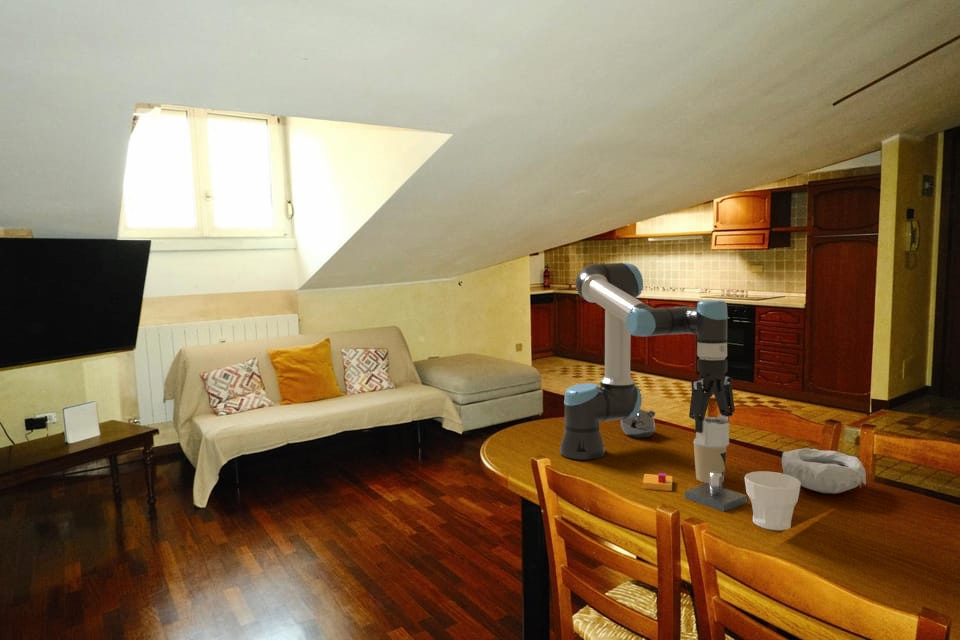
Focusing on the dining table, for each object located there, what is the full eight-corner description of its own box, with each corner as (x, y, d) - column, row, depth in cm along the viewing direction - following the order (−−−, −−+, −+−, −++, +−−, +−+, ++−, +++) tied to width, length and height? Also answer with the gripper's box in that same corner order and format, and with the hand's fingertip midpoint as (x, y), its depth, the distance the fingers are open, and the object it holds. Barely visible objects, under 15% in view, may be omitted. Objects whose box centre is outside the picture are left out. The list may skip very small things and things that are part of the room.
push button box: (642, 490, 172) (642, 475, 172) (644, 480, 180) (644, 467, 179) (671, 492, 169) (671, 478, 169) (672, 483, 177) (672, 469, 177)
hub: (714, 448, 156) (714, 425, 156) (690, 441, 163) (690, 419, 163) (734, 443, 160) (734, 421, 160) (710, 437, 167) (710, 415, 167)
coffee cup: (729, 485, 173) (730, 444, 172) (695, 484, 175) (696, 443, 174) (723, 475, 182) (723, 436, 181) (691, 473, 184) (691, 435, 183)
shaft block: (684, 497, 164) (684, 471, 164) (707, 490, 170) (707, 464, 169) (723, 511, 154) (724, 483, 154) (746, 502, 160) (746, 475, 159)
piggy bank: (642, 446, 213) (642, 415, 212) (612, 437, 225) (612, 407, 225) (664, 441, 218) (664, 410, 218) (634, 432, 231) (634, 403, 230)
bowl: (795, 473, 182) (796, 440, 181) (874, 489, 167) (875, 454, 167) (770, 491, 168) (770, 456, 167) (853, 511, 153) (854, 472, 152)
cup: (774, 538, 138) (775, 491, 138) (732, 518, 150) (733, 475, 149) (812, 528, 143) (813, 483, 143) (768, 510, 155) (769, 468, 154)
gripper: (696, 363, 152) (697, 451, 153) (749, 356, 162) (749, 438, 164) (673, 360, 158) (674, 444, 160) (726, 353, 169) (726, 433, 170)
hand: (712, 441), depth 162 cm, fingers closed on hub, 8 cm apart
